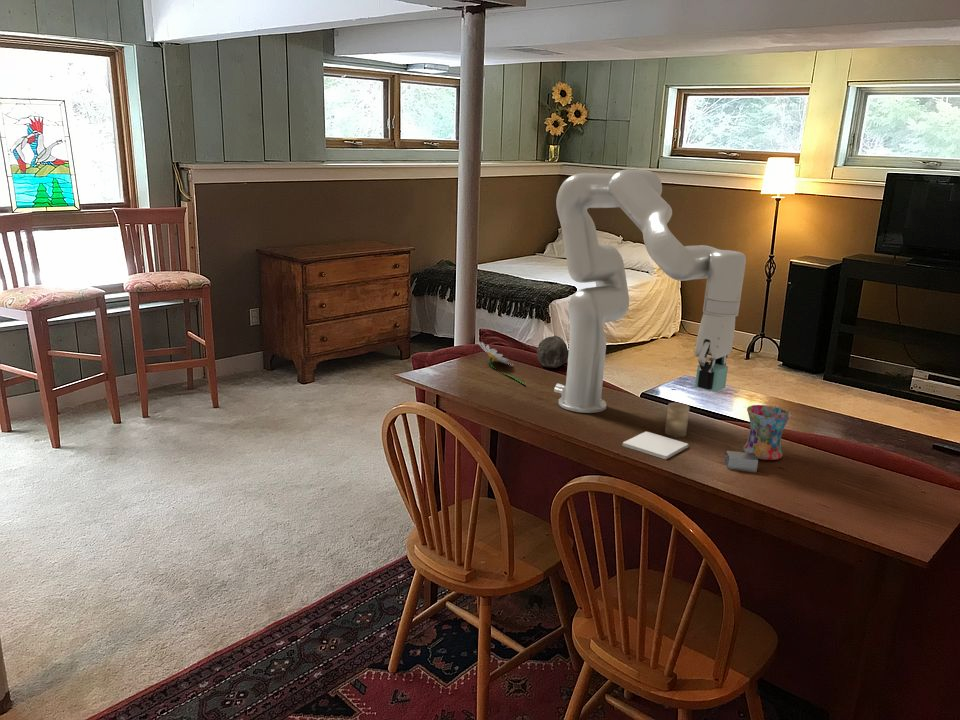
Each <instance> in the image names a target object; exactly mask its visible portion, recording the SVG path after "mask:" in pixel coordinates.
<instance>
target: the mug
mask: <svg viewBox="0 0 960 720" xmlns="http://www.w3.org/2000/svg"><path fill="white" fill-rule="evenodd" d="M746 410H747V415H748V420H749V426H750V427H749V435H748V439H747V440H746V443H745V444H744V445H743V448H742V450H743V452H744V453H754V454H755V455H756V457H757V459H758V460H762V461H763V460H764V461H775V460H780V459H781V458H782V457H783V452H782V448H781V447H782V445H781V442H782V441H781V440H782V434H783V432H784V430H785V426H786V425H787V423H788V422H789V420H790V418H791V417H792V414H791V412H789V411H787V410H786V409H784V408H780V407H776V406H772V405H765V404H754V405H749V406H748V407H747V408H746Z"/></svg>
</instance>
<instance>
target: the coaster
mask: <svg viewBox="0 0 960 720" xmlns="http://www.w3.org/2000/svg"><path fill="white" fill-rule="evenodd" d="M621 446H622V447H624V448H628V449H630V450H631V449H632V450H634V451H637V452H640V453H644V454H647V455H650V456H654V457H657V458H660V459H663V460H667V459H669V458H671V457H673V456H675V455H677V454H678V453H680V452H682V451H684V450H686V449H688V448H689V443H687V442H683V441H681V440H677V439H673V438H671V437H670V438H669V437H666V436H663V435H660V434H656V433H653V432H650V431H644V432H641V433H639V434H637V435H635V436H633V437H631V438H629V439H627V440H624V441H623V442H622V444H621Z"/></svg>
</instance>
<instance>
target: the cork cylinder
mask: <svg viewBox="0 0 960 720" xmlns="http://www.w3.org/2000/svg"><path fill="white" fill-rule="evenodd" d="M666 412H667V413H666V419H665V429H664V433H665V434H666V433H667V434H666V435H668V434H669V435H668V436H670V435H671V437H674V436H676V438H681V437H682V436H683V437H685V436H687V429H688V424H689V423H688V421H689V415H690V414H689V413H690V406H689V405H688V404H685V403H683V402H682V403H681V402H669V403H668V405H667V411H666ZM683 437H682V438H683Z"/></svg>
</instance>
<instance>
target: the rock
mask: <svg viewBox="0 0 960 720" xmlns="http://www.w3.org/2000/svg"><path fill="white" fill-rule="evenodd" d="M536 354H537V359H538V361H539V363H540V364H541V366H543V367H544V368H548V369H549V368H550V369H557V368H559V367H562V366H563V364H565V363H566V362H568V354H569V348H568V346H567V343H566V342H565V340H564V339H563V338H562V337H560V336H557V335H553V336H547V337H545V338H544V339H542V340H540V342H539V344H538V347H537V349H536Z"/></svg>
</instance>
